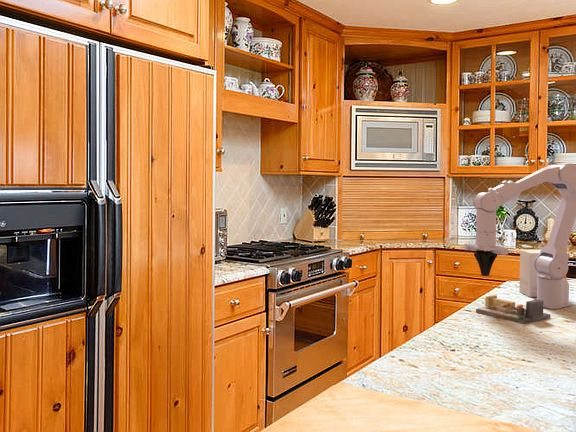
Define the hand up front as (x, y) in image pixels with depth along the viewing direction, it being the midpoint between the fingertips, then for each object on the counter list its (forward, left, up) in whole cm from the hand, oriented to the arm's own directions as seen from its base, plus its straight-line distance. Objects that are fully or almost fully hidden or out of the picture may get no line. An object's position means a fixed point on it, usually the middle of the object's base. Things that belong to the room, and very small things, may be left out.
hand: (485, 275), depth 169 cm
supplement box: (-30, -2, -10) cm, 32 cm away
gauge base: (+2, +11, -10) cm, 15 cm away
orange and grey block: (+6, +16, -8) cm, 19 cm away
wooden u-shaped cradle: (+3, +7, -8) cm, 11 cm away
